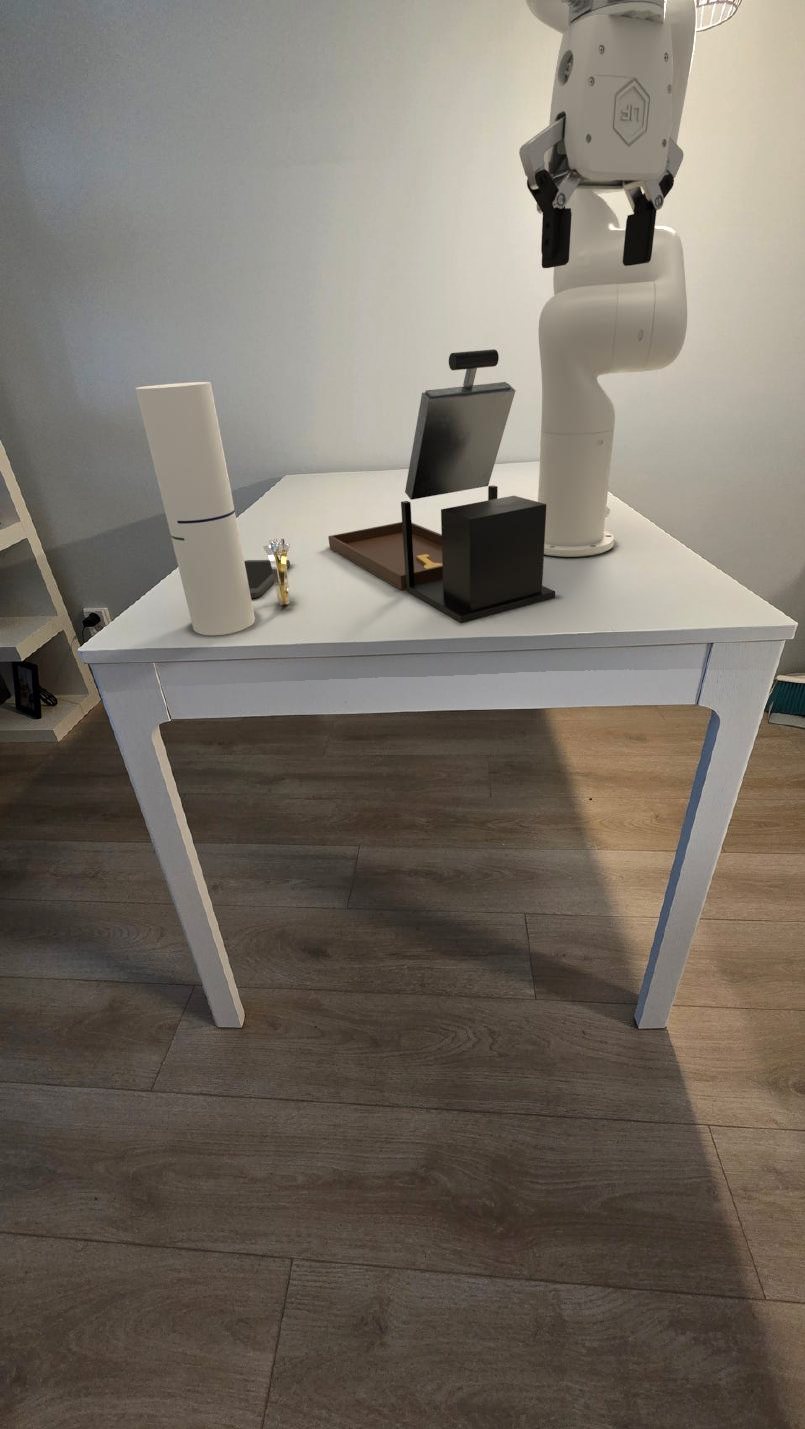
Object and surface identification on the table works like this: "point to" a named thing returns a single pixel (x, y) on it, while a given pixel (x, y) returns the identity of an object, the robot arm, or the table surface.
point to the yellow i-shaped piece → (427, 561)
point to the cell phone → (260, 576)
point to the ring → (279, 568)
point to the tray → (390, 552)
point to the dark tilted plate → (459, 431)
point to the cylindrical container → (198, 504)
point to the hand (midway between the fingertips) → (596, 265)
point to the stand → (484, 557)
